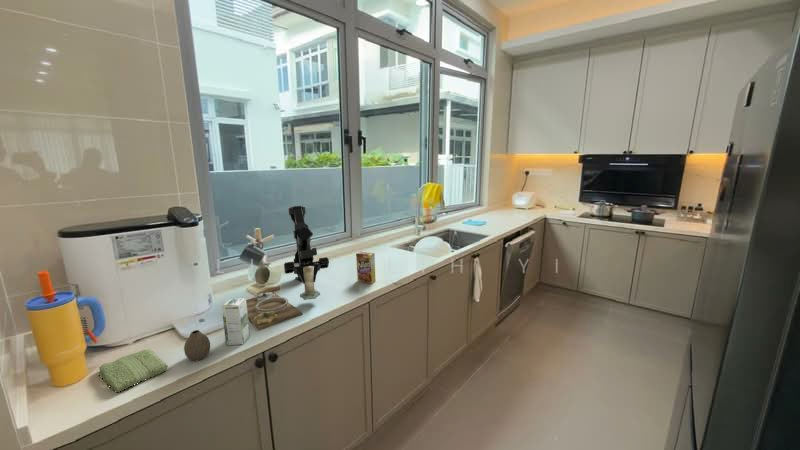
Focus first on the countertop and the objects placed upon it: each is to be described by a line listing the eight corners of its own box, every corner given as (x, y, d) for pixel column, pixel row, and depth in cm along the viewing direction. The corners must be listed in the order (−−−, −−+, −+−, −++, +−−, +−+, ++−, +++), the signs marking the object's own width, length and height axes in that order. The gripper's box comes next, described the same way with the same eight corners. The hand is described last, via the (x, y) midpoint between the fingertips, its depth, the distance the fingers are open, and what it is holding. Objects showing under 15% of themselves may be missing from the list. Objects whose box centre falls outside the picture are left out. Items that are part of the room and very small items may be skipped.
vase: (216, 352, 99) (213, 328, 98) (196, 365, 93) (192, 339, 91) (201, 349, 102) (197, 324, 100) (180, 361, 95) (176, 335, 94)
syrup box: (233, 336, 109) (228, 298, 106) (250, 335, 109) (246, 297, 106) (226, 346, 103) (220, 305, 100) (244, 344, 104) (239, 304, 101)
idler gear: (297, 295, 134) (294, 267, 131) (313, 290, 139) (311, 263, 137) (306, 301, 128) (304, 272, 125) (323, 295, 133) (321, 267, 131)
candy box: (356, 281, 159) (355, 253, 156) (361, 278, 163) (360, 251, 160) (371, 284, 155) (370, 255, 152) (375, 281, 159) (374, 252, 156)
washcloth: (150, 352, 101) (148, 343, 101) (171, 371, 91) (169, 362, 91) (96, 374, 91) (93, 364, 90) (112, 398, 81) (110, 388, 80)
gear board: (234, 305, 134) (233, 298, 133) (273, 293, 145) (272, 287, 145) (258, 330, 113) (258, 322, 112) (302, 314, 124) (301, 307, 124)
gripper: (282, 244, 129) (285, 277, 121) (326, 239, 136) (333, 270, 128) (283, 257, 138) (286, 289, 130) (325, 252, 145) (330, 282, 137)
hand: (309, 282), depth 131 cm, fingers closed on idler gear, 4 cm apart
